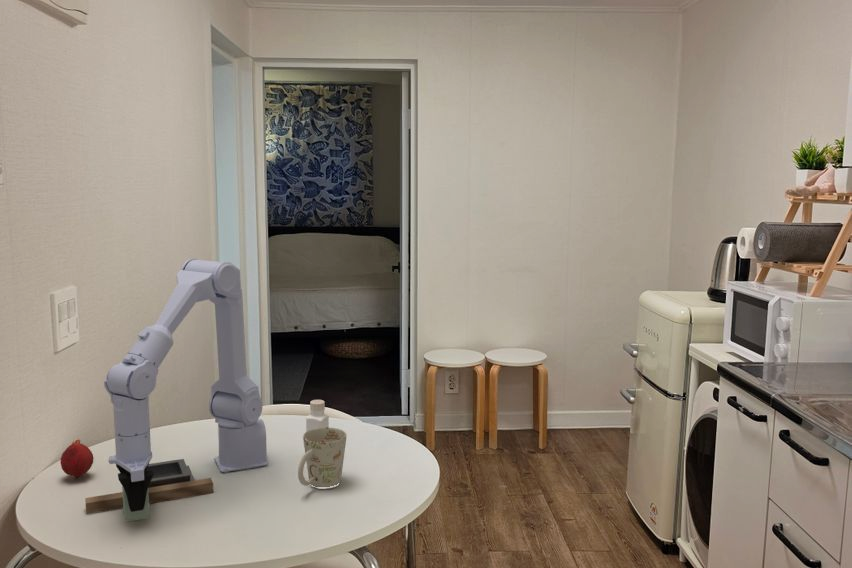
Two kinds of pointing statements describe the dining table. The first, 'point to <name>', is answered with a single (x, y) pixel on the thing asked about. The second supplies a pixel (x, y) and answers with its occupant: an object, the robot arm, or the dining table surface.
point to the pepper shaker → (317, 416)
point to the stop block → (136, 514)
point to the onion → (76, 459)
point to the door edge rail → (151, 495)
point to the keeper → (169, 473)
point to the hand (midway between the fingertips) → (135, 504)
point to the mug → (323, 457)
